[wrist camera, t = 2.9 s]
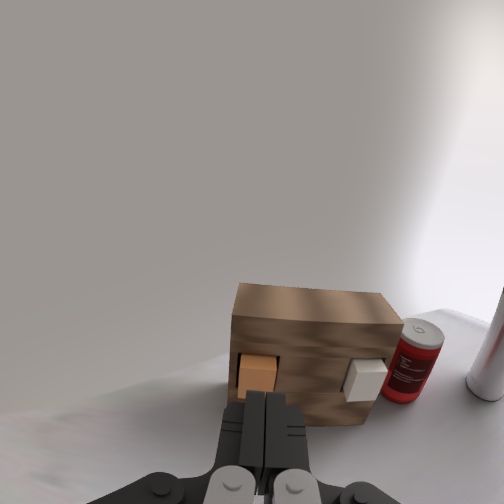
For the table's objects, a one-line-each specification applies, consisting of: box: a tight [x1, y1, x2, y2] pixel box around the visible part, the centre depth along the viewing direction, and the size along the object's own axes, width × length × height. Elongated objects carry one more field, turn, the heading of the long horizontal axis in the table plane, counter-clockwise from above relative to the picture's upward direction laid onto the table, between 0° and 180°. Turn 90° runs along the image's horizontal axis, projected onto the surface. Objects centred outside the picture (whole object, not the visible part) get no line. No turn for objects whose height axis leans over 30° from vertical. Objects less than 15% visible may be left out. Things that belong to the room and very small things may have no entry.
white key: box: [342, 358, 388, 402], centre depth 30 cm, size 4×5×4 cm
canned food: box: [380, 318, 445, 403], centre depth 37 cm, size 8×8×11 cm
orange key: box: [238, 353, 277, 399], centre depth 30 cm, size 4×5×4 cm
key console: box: [227, 283, 404, 426], centre depth 33 cm, size 18×8×16 cm, turn 87°
